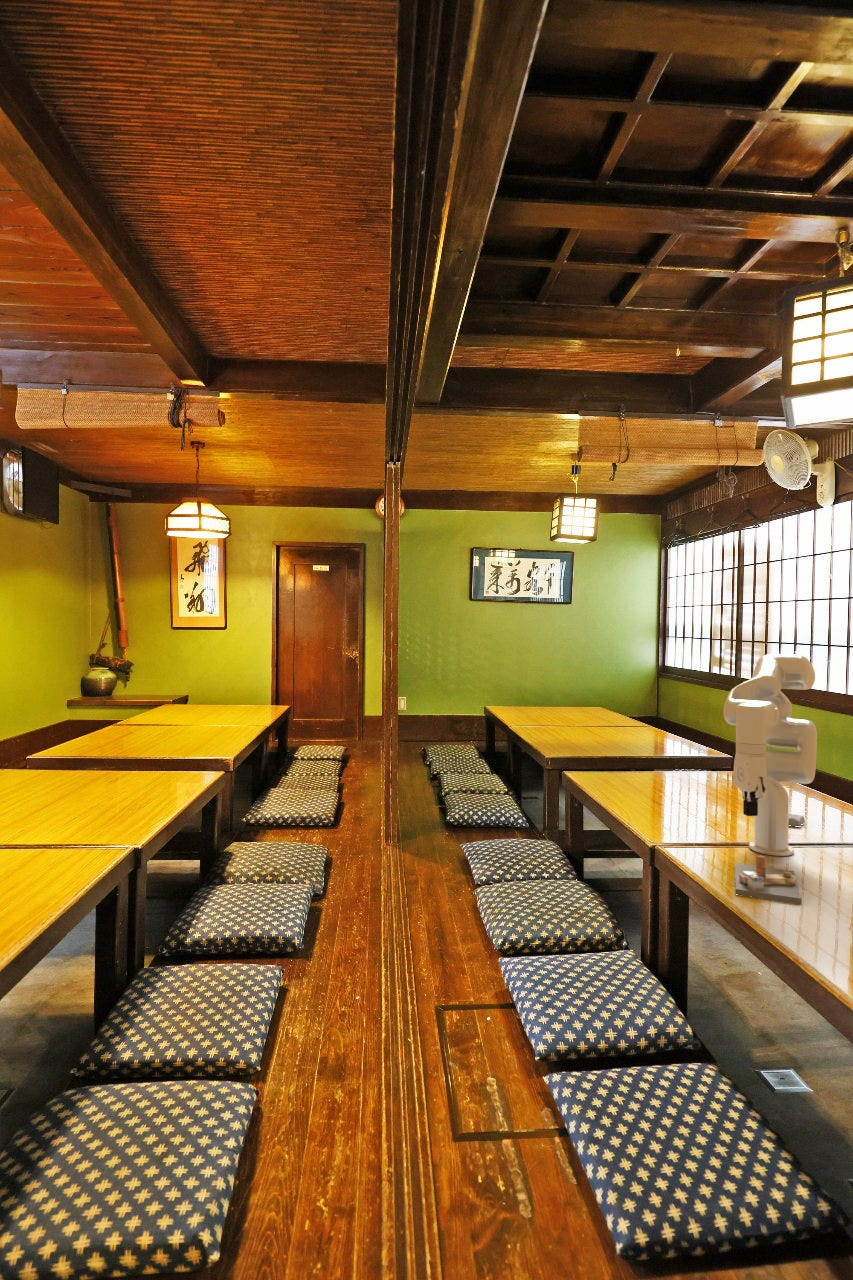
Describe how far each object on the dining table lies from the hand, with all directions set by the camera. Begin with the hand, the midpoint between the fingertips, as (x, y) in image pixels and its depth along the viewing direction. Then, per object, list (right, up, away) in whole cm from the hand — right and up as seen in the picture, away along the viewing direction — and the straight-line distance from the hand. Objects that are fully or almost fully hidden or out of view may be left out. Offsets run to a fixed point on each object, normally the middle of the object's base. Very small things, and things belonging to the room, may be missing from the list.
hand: (750, 815), depth 186 cm
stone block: (+41, -19, +59) cm, 75 cm away
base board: (+2, -18, -3) cm, 19 cm away
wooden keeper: (-3, -17, -9) cm, 19 cm away
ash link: (+2, -16, -6) cm, 18 cm away
